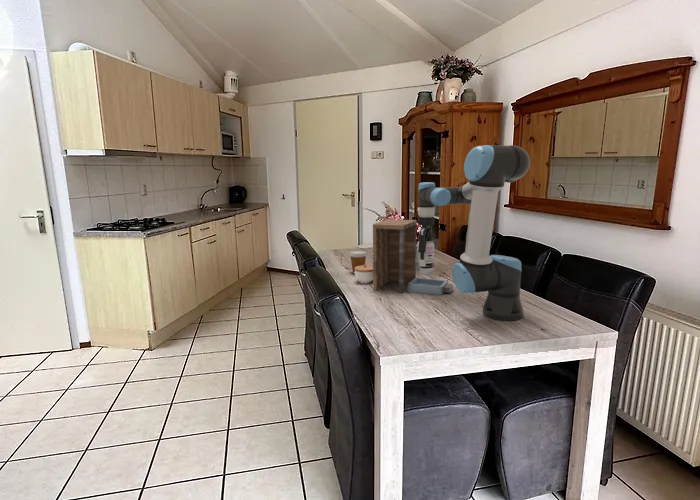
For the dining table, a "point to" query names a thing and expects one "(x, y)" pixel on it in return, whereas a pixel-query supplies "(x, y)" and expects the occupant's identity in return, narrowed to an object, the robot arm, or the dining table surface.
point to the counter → (394, 252)
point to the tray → (429, 286)
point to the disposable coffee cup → (357, 258)
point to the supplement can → (429, 259)
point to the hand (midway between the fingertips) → (425, 264)
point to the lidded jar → (364, 273)
